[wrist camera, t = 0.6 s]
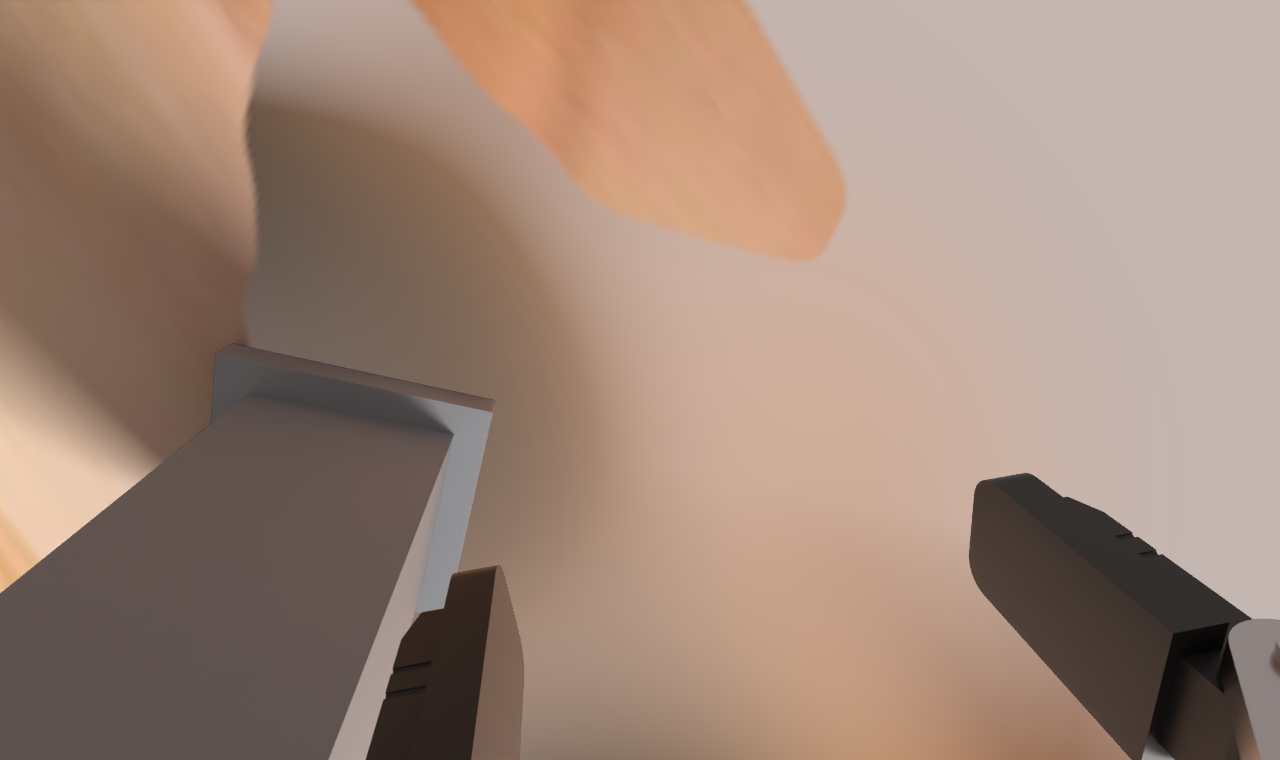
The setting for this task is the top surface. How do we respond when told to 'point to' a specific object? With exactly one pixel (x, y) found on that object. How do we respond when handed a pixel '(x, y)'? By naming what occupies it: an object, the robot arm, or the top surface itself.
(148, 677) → the stand
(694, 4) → the top surface
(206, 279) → the top surface
